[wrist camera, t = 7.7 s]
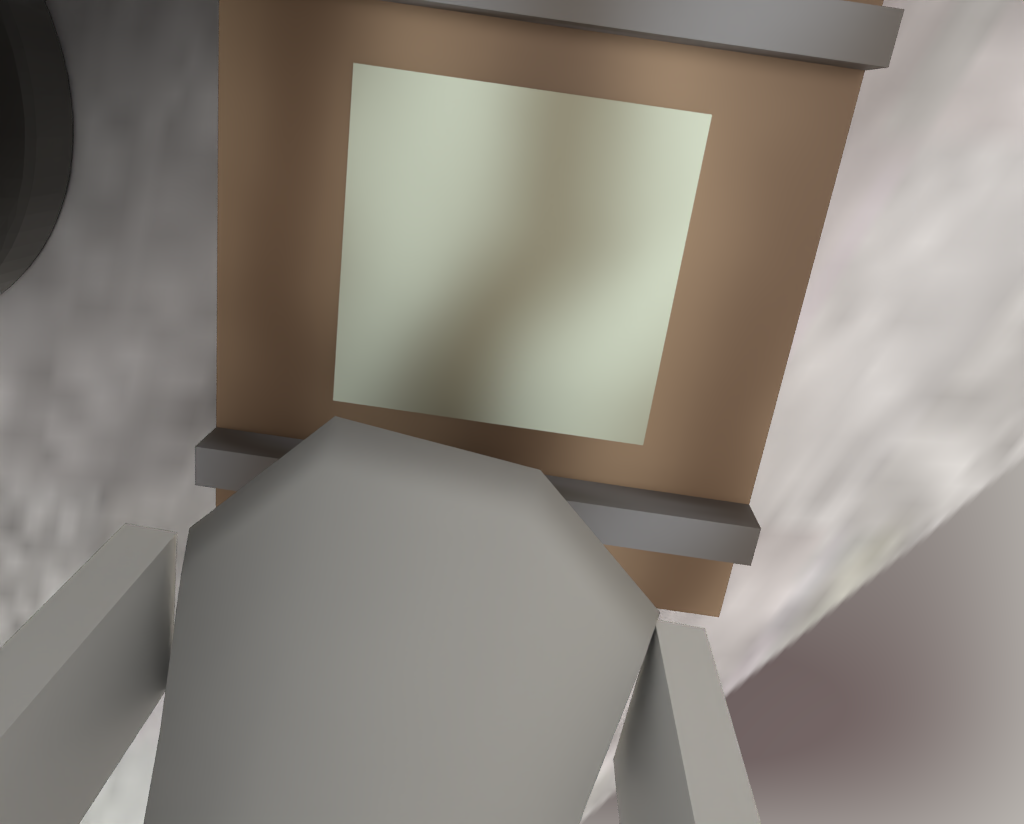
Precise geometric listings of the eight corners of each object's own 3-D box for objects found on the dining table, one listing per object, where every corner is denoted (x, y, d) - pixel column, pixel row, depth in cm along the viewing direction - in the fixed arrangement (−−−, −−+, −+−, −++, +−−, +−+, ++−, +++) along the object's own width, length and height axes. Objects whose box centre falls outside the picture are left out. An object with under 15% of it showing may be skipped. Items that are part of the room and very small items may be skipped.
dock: (249, 501, 28) (195, 569, 24) (264, -176, 21) (192, -246, 17) (702, 566, 28) (728, 646, 24) (868, -89, 21) (944, -138, 17)
